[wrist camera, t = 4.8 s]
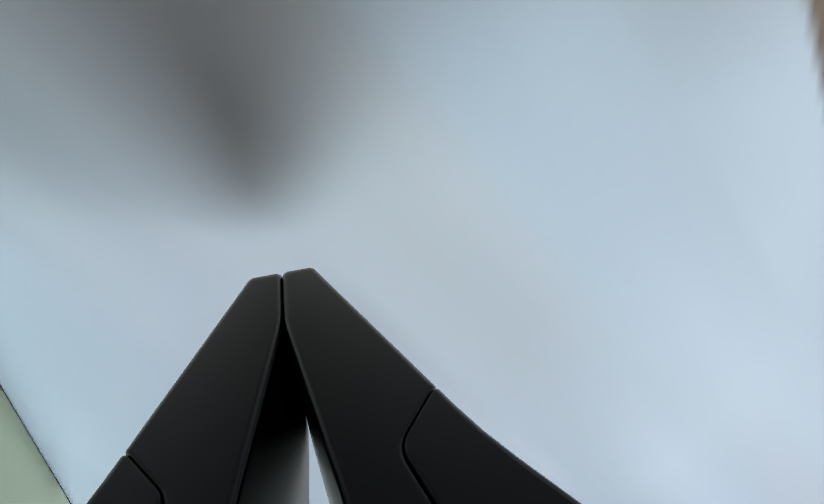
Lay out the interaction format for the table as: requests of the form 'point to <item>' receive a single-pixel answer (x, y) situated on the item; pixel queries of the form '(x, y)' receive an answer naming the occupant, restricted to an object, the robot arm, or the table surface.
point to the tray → (23, 464)
